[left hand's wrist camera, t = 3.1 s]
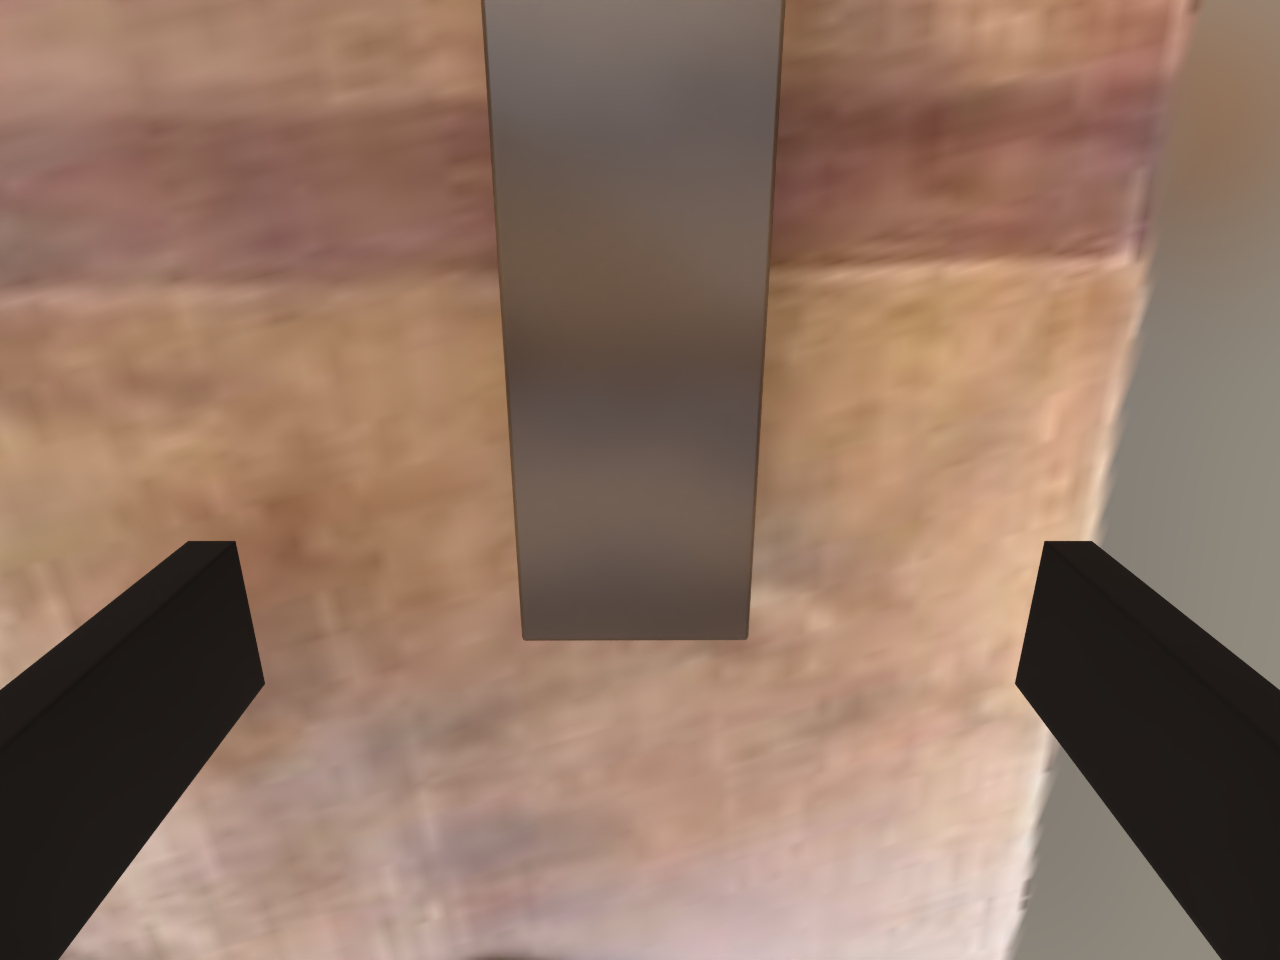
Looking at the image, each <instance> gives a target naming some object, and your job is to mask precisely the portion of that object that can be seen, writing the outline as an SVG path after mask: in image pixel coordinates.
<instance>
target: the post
mask: <svg viewBox="0 0 1280 960" xmlns="http://www.w3.org/2000/svg"><path fill="white" fill-rule="evenodd" d="M481 7H482V23H483V38H484V54H485V69H486V84H487V100H488V115H489V131H490V146H491V162H492V177H493V193H494V208H495V224H496V239H497V255H498V270H499V286H500V301H501V317H502V332H503V348H504V363H505V379H506V394H507V409H508V425H509V440H510V456H511V471H512V487H513V502H514V518H515V533H516V549H517V564H518V580H519V595H520V611H521V626H522V637H523V639H524V640H746V639H747V638H748V631H749V614H750V597H751V580H752V563H753V546H754V529H755V512H756V494H757V477H758V460H759V443H760V426H761V409H762V392H763V375H764V357H765V340H766V323H767V306H768V289H769V272H770V255H771V238H772V220H773V203H774V186H775V169H776V152H777V135H778V118H779V101H780V83H781V66H782V49H783V32H784V15H785V0H481Z"/></svg>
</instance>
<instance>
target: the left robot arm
mask: <svg viewBox="0 0 1280 960" xmlns="http://www.w3.org/2000/svg"><path fill="white" fill-rule="evenodd" d="M264 684H265V681H264V677H263V672H262V667H261V662H260V657H259V652H258V648H257V643H256V638H255V633H254V628H253V623H252V619H251V614H250V609H249V604H248V599H247V595H246V590H245V585H244V580H243V575H242V570H241V566H240V561H239V556H238V551H237V546H236V541H188V542H187V543H185V544H184V545H183V546H181V547H180V548H179V549H178V550H176V551H175V552H174V553H173V554H171V555H170V556H169V557H168V558H166V559H165V560H164V561H163V562H161V563H160V564H159V565H157V566H156V567H155V568H154V569H152V570H151V571H150V572H149V573H147V574H146V575H145V576H144V577H142V578H141V579H140V580H139V581H137V582H136V583H135V584H134V585H132V586H131V587H130V588H128V589H127V590H126V591H125V592H123V593H122V594H121V595H120V596H118V597H117V598H116V599H115V600H113V601H112V602H111V603H110V604H108V605H107V606H106V607H105V608H103V609H102V610H101V611H99V612H98V613H97V614H96V615H94V616H93V617H92V618H91V619H89V620H88V621H87V622H86V623H84V624H83V625H82V626H81V627H79V628H78V629H77V630H75V631H74V632H73V633H72V634H70V635H69V636H68V637H67V638H65V639H64V640H63V641H62V642H60V643H59V644H58V645H57V646H55V647H54V648H53V649H52V650H50V651H49V652H48V653H46V654H45V655H44V656H43V657H41V658H40V659H39V660H38V661H36V662H35V663H34V664H33V665H31V666H30V667H29V668H28V669H26V670H25V671H24V672H22V673H21V674H20V675H19V676H17V677H16V678H15V679H14V680H12V681H11V682H10V683H9V684H7V685H6V686H5V687H4V688H2V689H1V690H0V960H58V959H59V958H60V957H61V955H62V954H63V953H64V951H65V950H66V949H67V947H68V946H69V945H70V943H71V942H72V941H73V939H74V938H75V937H76V935H77V934H78V933H79V931H80V930H81V929H82V927H83V926H84V925H85V923H86V922H87V921H88V919H89V918H90V917H91V915H92V914H93V913H94V911H95V910H96V909H97V907H98V906H99V905H100V903H101V902H102V901H103V899H104V898H105V897H106V895H107V894H108V893H109V891H110V890H111V889H112V887H113V886H114V885H115V883H116V882H117V881H118V879H119V878H120V877H121V875H122V874H123V873H124V871H125V870H126V869H127V867H128V866H129V865H130V863H131V862H132V861H133V859H134V858H135V857H136V855H137V854H138V853H139V851H140V850H141V849H142V847H143V846H144V845H145V843H146V842H147V841H148V839H149V838H150V837H151V835H152V834H153V833H154V831H155V830H156V829H157V827H158V826H159V825H160V823H161V822H162V821H163V819H164V818H165V817H166V815H167V814H168V813H169V811H170V810H171V809H172V807H173V806H174V805H175V803H176V802H177V801H178V799H179V798H180V797H181V795H182V794H183V793H184V791H185V790H186V789H187V787H188V786H189V785H190V783H191V782H192V781H193V779H194V778H195V777H196V775H197V774H198V773H199V771H200V770H201V769H202V767H203V766H204V765H205V763H206V762H207V761H208V759H209V758H210V757H211V755H212V754H213V752H214V751H215V750H216V748H217V747H218V746H219V744H220V743H221V742H222V740H223V739H224V738H225V736H226V735H227V734H228V732H229V731H230V730H231V728H232V727H233V726H234V724H235V723H236V722H237V720H238V719H239V718H240V716H241V715H242V714H243V712H244V711H245V710H246V708H247V707H248V706H249V704H250V703H251V702H252V700H253V699H254V698H255V696H256V695H257V694H258V692H259V691H260V690H261V688H262V687H263V686H264ZM1015 684H1016V686H1017V687H1018V688H1019V690H1020V691H1021V692H1022V694H1023V695H1024V696H1025V698H1026V699H1027V700H1028V702H1029V703H1030V704H1031V706H1032V707H1033V708H1034V710H1035V711H1036V712H1037V714H1038V715H1039V716H1040V718H1041V719H1042V720H1043V722H1044V723H1045V724H1046V726H1047V727H1048V728H1049V730H1050V731H1051V732H1052V734H1053V735H1054V736H1055V738H1056V739H1057V740H1058V742H1059V743H1060V744H1061V746H1062V747H1063V748H1064V750H1065V751H1066V752H1067V754H1068V755H1069V757H1070V758H1071V759H1072V761H1073V762H1074V763H1075V764H1076V766H1077V767H1078V769H1079V770H1080V771H1081V772H1082V774H1083V775H1084V776H1085V778H1086V779H1087V780H1088V782H1089V783H1090V785H1091V786H1092V787H1093V789H1094V790H1095V791H1096V793H1097V794H1098V795H1099V797H1100V798H1101V799H1102V801H1103V802H1104V803H1105V805H1106V806H1107V807H1108V809H1109V810H1110V811H1111V813H1112V814H1113V815H1114V817H1115V818H1116V819H1117V821H1118V822H1119V823H1120V825H1121V826H1122V827H1123V829H1124V830H1125V831H1126V833H1127V834H1128V835H1129V837H1130V838H1131V839H1132V841H1133V842H1134V843H1135V845H1136V846H1137V847H1138V849H1139V850H1140V851H1141V853H1142V854H1143V855H1144V857H1145V858H1146V859H1147V861H1148V862H1149V863H1150V865H1151V866H1152V867H1153V869H1154V870H1155V871H1156V873H1157V874H1158V875H1159V877H1160V878H1161V879H1162V881H1163V882H1164V883H1165V885H1166V886H1167V887H1168V889H1169V890H1170V891H1171V893H1172V894H1173V895H1174V897H1175V898H1176V899H1177V901H1178V902H1179V903H1180V905H1181V906H1182V907H1183V909H1184V910H1185V911H1186V913H1187V914H1188V915H1189V917H1190V918H1191V919H1192V921H1193V922H1194V923H1195V925H1196V926H1197V927H1198V929H1199V930H1200V931H1201V933H1202V934H1203V935H1204V937H1205V938H1206V939H1207V941H1208V942H1209V943H1210V945H1211V946H1212V947H1213V949H1214V950H1215V951H1216V953H1217V954H1218V955H1219V957H1220V958H1221V959H1222V960H1280V690H1279V689H1278V688H1276V687H1275V686H1274V685H1273V684H1271V683H1270V682H1269V681H1268V680H1266V679H1265V678H1264V677H1263V676H1261V675H1260V674H1259V673H1258V672H1256V671H1255V670H1254V669H1252V668H1251V667H1250V666H1249V665H1247V664H1246V663H1245V662H1244V661H1242V660H1241V659H1240V658H1239V657H1237V656H1236V655H1235V654H1234V653H1232V652H1231V651H1230V650H1228V649H1227V648H1226V647H1225V646H1223V645H1222V644H1221V643H1220V642H1218V641H1217V640H1216V639H1215V638H1213V637H1212V636H1211V635H1210V634H1208V633H1207V632H1206V631H1204V630H1203V629H1202V628H1201V627H1199V626H1198V625H1197V624H1196V623H1194V622H1193V621H1192V620H1191V619H1189V618H1188V617H1187V616H1186V615H1184V614H1183V613H1182V612H1181V611H1179V610H1178V609H1177V608H1175V607H1174V606H1173V605H1172V604H1170V603H1169V602H1168V601H1167V600H1165V599H1164V598H1163V597H1162V596H1160V595H1159V594H1158V593H1157V592H1155V591H1154V590H1153V589H1151V588H1150V587H1149V586H1148V585H1146V584H1145V583H1144V582H1143V581H1141V580H1140V579H1139V578H1138V577H1136V576H1135V575H1134V574H1133V573H1131V572H1130V571H1129V570H1128V569H1126V568H1125V567H1124V566H1123V565H1121V564H1120V563H1119V562H1117V561H1116V560H1115V559H1114V558H1112V557H1111V556H1110V555H1109V554H1107V553H1106V552H1105V551H1104V550H1102V549H1101V548H1100V547H1099V546H1097V545H1096V544H1095V543H1093V542H1092V541H1044V546H1043V551H1042V556H1041V561H1040V566H1039V570H1038V575H1037V580H1036V585H1035V590H1034V595H1033V599H1032V604H1031V609H1030V614H1029V619H1028V623H1027V628H1026V633H1025V638H1024V643H1023V648H1022V652H1021V657H1020V662H1019V667H1018V672H1017V677H1016V681H1015Z"/></svg>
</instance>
